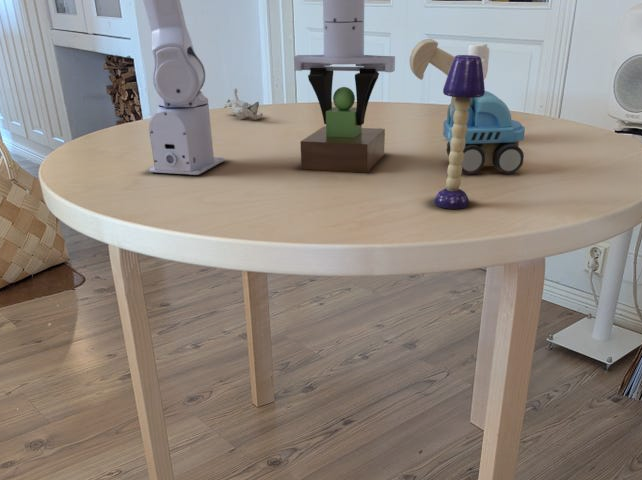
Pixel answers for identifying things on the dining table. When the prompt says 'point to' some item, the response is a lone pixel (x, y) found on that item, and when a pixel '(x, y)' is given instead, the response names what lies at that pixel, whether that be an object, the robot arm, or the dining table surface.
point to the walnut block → (343, 151)
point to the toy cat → (243, 108)
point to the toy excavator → (476, 119)
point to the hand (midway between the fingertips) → (344, 123)
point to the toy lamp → (460, 123)
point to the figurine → (480, 55)
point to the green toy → (342, 115)
